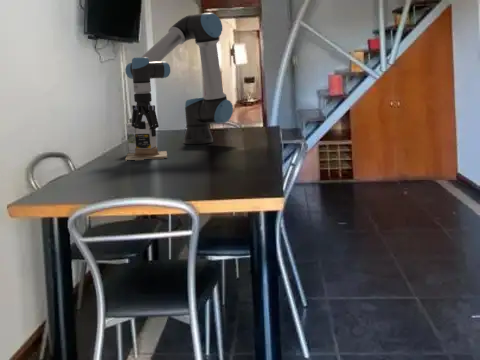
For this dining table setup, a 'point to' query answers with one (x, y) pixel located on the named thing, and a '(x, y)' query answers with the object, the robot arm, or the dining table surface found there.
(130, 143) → the syrup box
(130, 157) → the base board
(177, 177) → the dining table surface
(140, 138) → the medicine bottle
